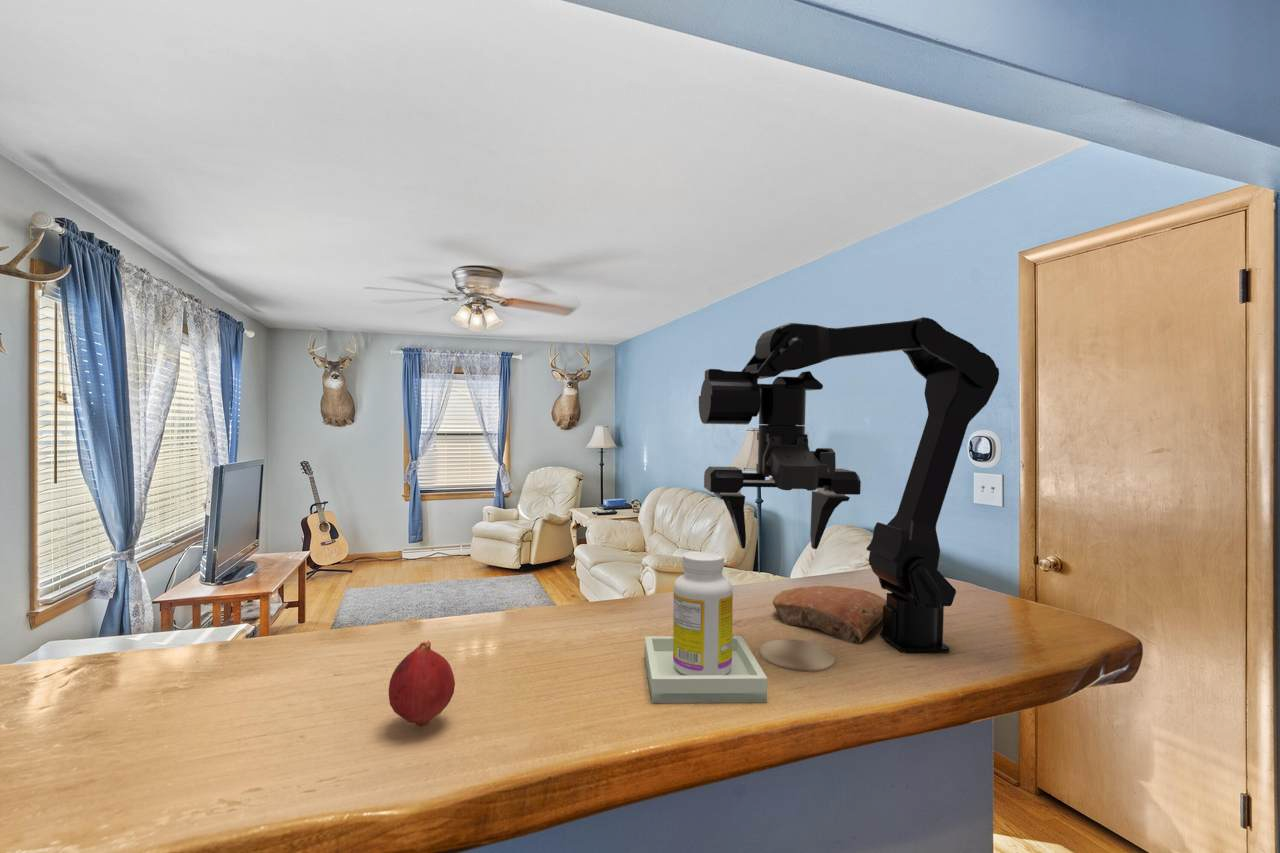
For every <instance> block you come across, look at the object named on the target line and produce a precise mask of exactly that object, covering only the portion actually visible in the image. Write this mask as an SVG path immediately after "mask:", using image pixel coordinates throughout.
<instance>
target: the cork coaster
mask: <svg viewBox="0 0 1280 853" xmlns="http://www.w3.org/2000/svg"><path fill="white" fill-rule="evenodd" d="M759 654H760V657H761V658H762V659H763V660H764V661H766V662H767V663H769V664H771V665H773V666H775V667H778V668H782V669H785V670H789V671H790V670H791V671H796V672H819V671H824V670H828V669H830V668H832V667H833V666H834V664H836V656H835V654H834V652H832V651H831V650H830V649H828V648H826V647H824V646H822V645H820V644H818V643H815V642H810V641H806V640H802V639H801V640H800V639H790V638H789V639H787V638H786V639H775V640H770V641H768V642H767V641H766V642H765V643H763V644H762V645H761V646H760V649H759Z"/></svg>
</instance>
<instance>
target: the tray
mask: <svg viewBox="0 0 1280 853" xmlns="http://www.w3.org/2000/svg"><path fill="white" fill-rule="evenodd" d="M643 652H644V656H645V657H644V663H646V664H645V668H646V675H647V676H646V677H647V681H648V687H649V694H650V702H651V704H719V703H720V704H721V703H722V704H724V703H725V704H726V703H727V704H728V703H729V704H731V703H732V704H733V703H736V704H737V703H739V704H740V703H744V704H746V703H749V704H750V703H768V677H767V675H766V673H765V672H764V670H763V669H762V667H761V665H760V664H759V662H758V661H757V659H756V658H755V656H754V653H753V652H752V651H751V649H750V647H749V646H748V644H747V643H746V641H745V639H744V637H743V636H742V635H741V636H740V635H734V636H733V635H732V666H731V669H730V671H729V672H728V673H727V674H725V675H696V676H687V675H684V674H682V673H681V672H679V671H678V670H677V669H676V668H675V666H674V663H673V636H670V635H669V636H668V635H663V636H661V635H659V636H658V635H657V636H655V635H648V636H644V651H643Z"/></svg>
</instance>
